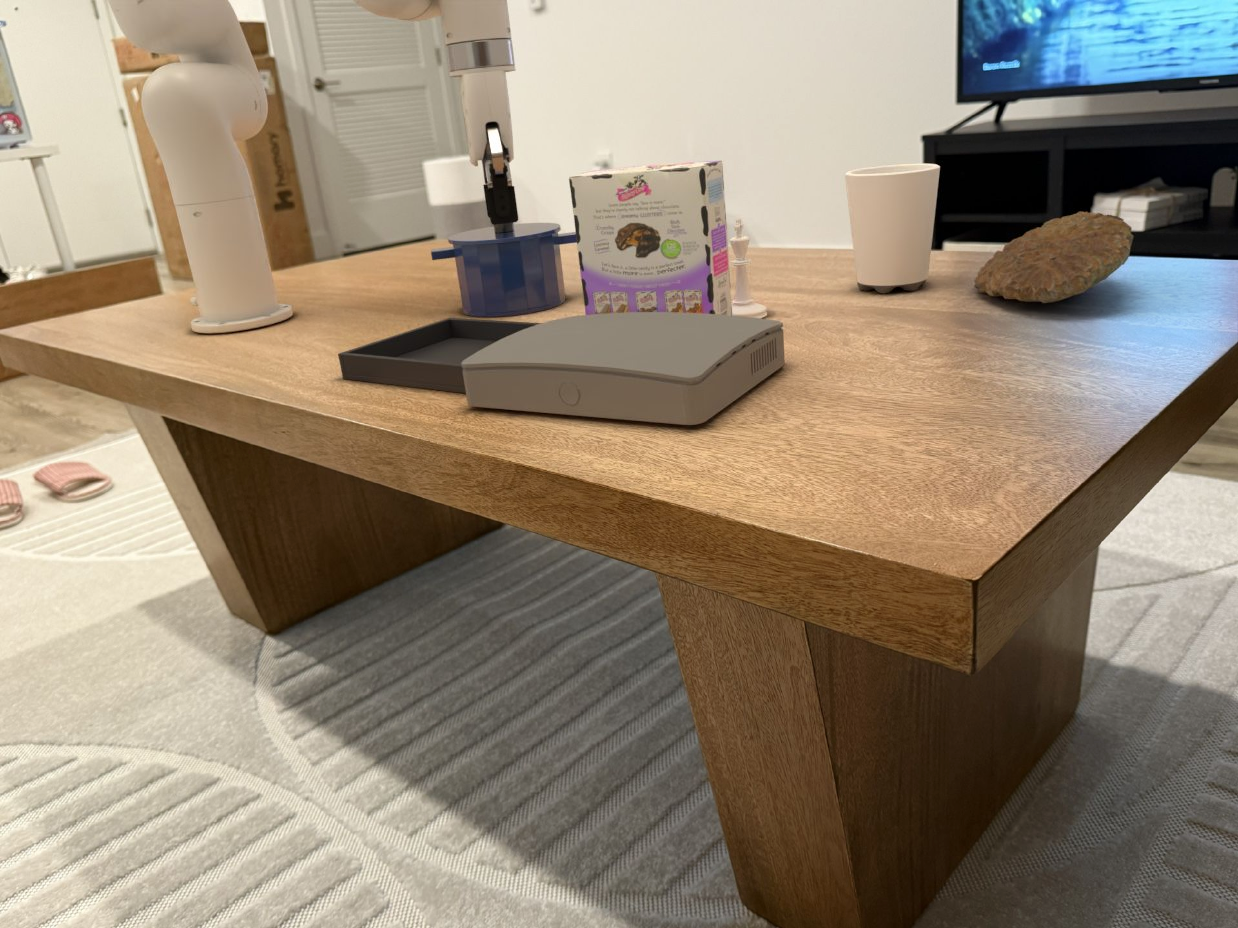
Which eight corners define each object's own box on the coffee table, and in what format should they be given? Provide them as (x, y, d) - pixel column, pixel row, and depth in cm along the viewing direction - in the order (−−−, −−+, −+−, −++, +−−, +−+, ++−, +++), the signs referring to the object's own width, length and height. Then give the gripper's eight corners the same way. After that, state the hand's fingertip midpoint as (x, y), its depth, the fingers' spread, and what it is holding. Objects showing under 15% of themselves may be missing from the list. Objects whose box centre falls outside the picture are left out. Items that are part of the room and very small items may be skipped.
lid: (448, 240, 124) (441, 191, 122) (555, 228, 126) (549, 178, 124) (449, 255, 112) (441, 200, 110) (568, 240, 113) (561, 186, 111)
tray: (342, 378, 95) (337, 353, 94) (452, 340, 106) (449, 317, 106) (472, 394, 85) (468, 366, 84) (578, 350, 97) (575, 325, 96)
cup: (950, 291, 105) (952, 167, 100) (857, 300, 105) (855, 177, 101) (924, 275, 114) (925, 161, 110) (839, 283, 115) (836, 170, 110)
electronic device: (585, 350, 96) (579, 300, 94) (796, 360, 85) (794, 303, 84) (462, 410, 81) (452, 351, 79) (699, 431, 70) (694, 363, 68)
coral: (990, 260, 109) (1105, 162, 99) (1045, 323, 108) (1167, 230, 98) (925, 299, 96) (1051, 189, 85) (988, 371, 94) (1123, 268, 84)
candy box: (735, 330, 98) (725, 158, 92) (715, 345, 93) (703, 164, 87) (610, 329, 104) (594, 167, 98) (585, 343, 99) (566, 174, 93)
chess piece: (714, 321, 102) (708, 224, 99) (727, 311, 107) (722, 216, 103) (760, 321, 100) (755, 221, 97) (772, 310, 105) (768, 214, 101)
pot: (441, 305, 126) (430, 238, 123) (579, 287, 129) (572, 221, 126) (441, 325, 115) (429, 251, 112) (593, 305, 117) (585, 232, 114)
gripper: (447, 67, 119) (469, 216, 126) (448, 60, 103) (473, 231, 110) (509, 61, 120) (527, 209, 127) (519, 53, 104) (540, 223, 110)
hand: (502, 218), depth 118 cm, fingers open, 7 cm apart
